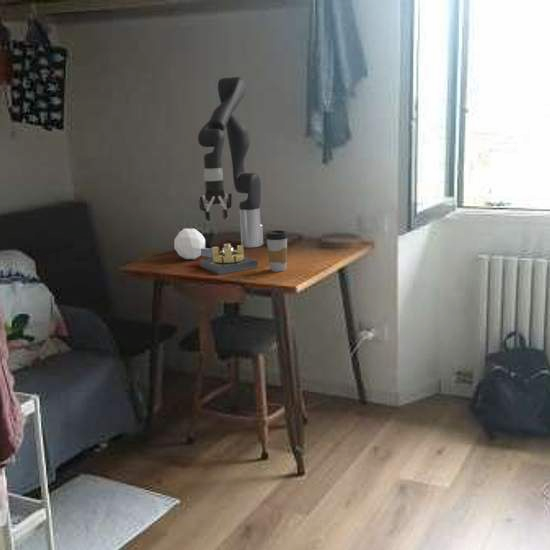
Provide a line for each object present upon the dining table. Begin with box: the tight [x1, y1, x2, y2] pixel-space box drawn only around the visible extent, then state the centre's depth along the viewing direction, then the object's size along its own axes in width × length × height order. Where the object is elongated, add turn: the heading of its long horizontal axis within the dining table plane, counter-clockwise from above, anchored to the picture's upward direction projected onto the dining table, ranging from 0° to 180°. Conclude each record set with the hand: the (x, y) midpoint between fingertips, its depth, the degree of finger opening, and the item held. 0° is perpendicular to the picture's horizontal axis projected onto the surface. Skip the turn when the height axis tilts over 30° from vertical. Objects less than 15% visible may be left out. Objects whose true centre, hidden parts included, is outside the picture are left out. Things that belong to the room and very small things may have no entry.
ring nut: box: [200, 243, 245, 263], centre depth 293 cm, size 21×12×5 cm, turn 51°
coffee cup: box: [265, 229, 288, 273], centre depth 282 cm, size 8×8×15 cm
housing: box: [200, 246, 259, 275], centre depth 291 cm, size 17×17×8 cm
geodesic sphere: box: [173, 227, 206, 260], centre depth 310 cm, size 14×14×14 cm
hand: (216, 219), depth 299 cm, fingers open, 6 cm apart
